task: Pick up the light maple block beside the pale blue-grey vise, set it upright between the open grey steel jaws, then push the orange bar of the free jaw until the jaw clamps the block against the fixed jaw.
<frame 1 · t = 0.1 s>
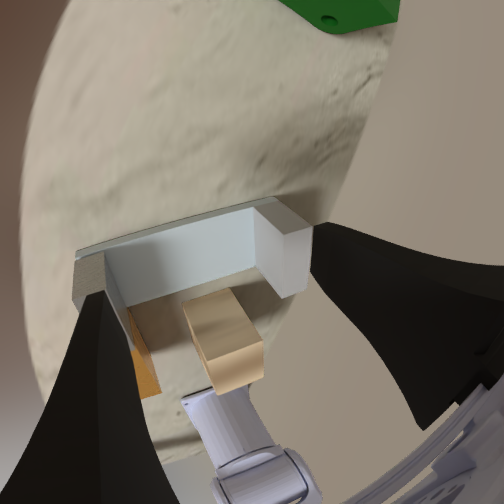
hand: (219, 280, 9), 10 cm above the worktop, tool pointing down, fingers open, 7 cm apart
vise: (183, 252, 20), on the worktop
block: (209, 316, 25), on the worktop
free jaw: (120, 335, 18), point 3 cm above the worktop, slide at 0.0 cm
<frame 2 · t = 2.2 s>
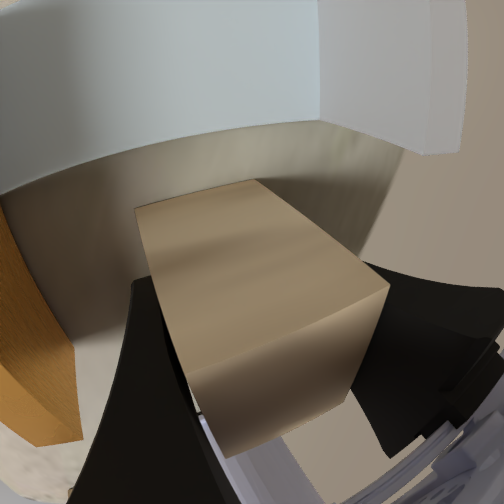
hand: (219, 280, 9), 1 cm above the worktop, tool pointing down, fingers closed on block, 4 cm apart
vise: (144, 53, 6), on the worktop
block: (205, 257, 11), on the worktop, touching gripper
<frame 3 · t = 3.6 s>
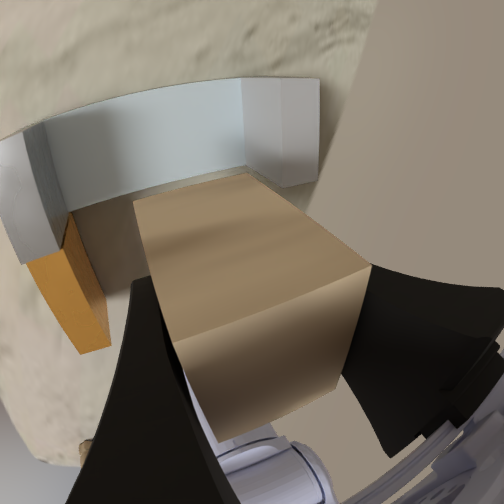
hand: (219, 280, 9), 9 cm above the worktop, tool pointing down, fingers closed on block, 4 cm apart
handle: (90, 443, 25), on the worktop
vise: (148, 136, 14), on the worktop
block: (201, 248, 11), point 7 cm above the worktop, touching gripper
free jaw: (53, 246, 12), point 3 cm above the worktop, slide at 0.0 cm
when the fingers open (3 cm above the worktop, at t = 5.2 s): block stays where it is, resting on vise.
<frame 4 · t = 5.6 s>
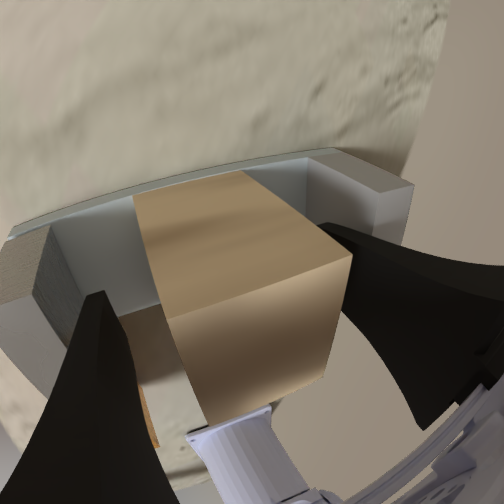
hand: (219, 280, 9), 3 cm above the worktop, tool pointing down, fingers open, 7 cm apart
vise: (191, 231, 12), on the worktop
block: (196, 241, 11), point 1 cm above the worktop, touching vise
free jaw: (88, 370, 10), point 3 cm above the worktop, slide at 0.0 cm
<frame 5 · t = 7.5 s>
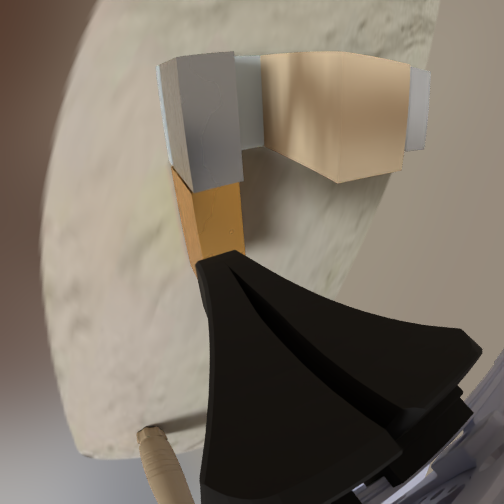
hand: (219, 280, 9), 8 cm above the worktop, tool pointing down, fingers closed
handle: (149, 430, 27), on the worktop
vise: (287, 97, 15), on the worktop
block: (295, 99, 14), point 1 cm above the worktop, touching vise
free jaw: (204, 185, 13), point 3 cm above the worktop, slide at 0.0 cm
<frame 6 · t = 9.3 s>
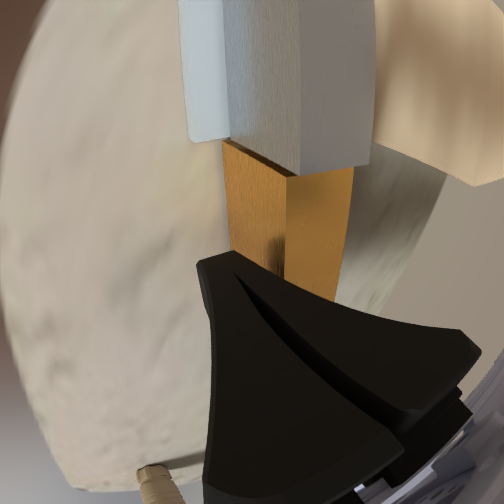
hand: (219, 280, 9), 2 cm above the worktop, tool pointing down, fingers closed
handle: (150, 467, 21), on the worktop
vise: (354, 65, 10), on the worktop
block: (368, 67, 9), point 1 cm above the worktop, touching vise
free jaw: (284, 170, 8), point 3 cm above the worktop, slide at 1.0 cm, touching gripper
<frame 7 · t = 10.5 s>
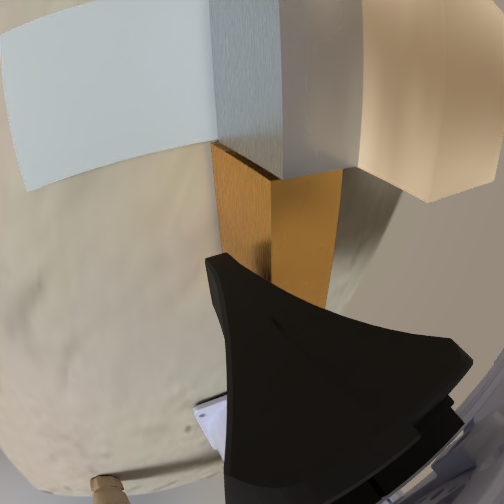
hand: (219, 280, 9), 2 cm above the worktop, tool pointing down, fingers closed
handle: (104, 477, 20), on the worktop
vise: (231, 60, 8), on the worktop
block: (321, 61, 8), point 1 cm above the worktop, touching free jaw, vise
free jaw: (272, 172, 8), point 3 cm above the worktop, slide at 6.0 cm, touching block, gripper
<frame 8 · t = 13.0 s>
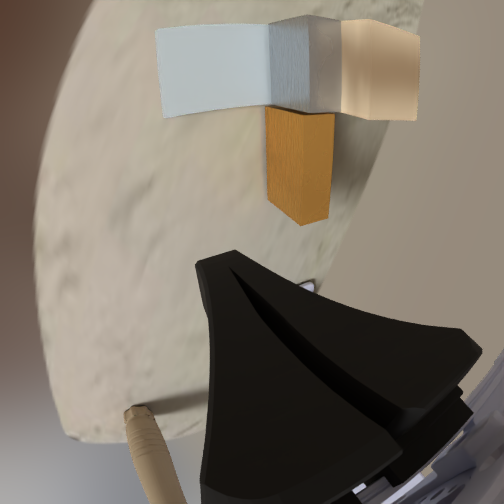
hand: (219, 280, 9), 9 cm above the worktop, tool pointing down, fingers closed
handle: (136, 410, 27), on the worktop
vise: (275, 64, 15), on the worktop
block: (323, 66, 16), point 1 cm above the worktop, touching vise
free jaw: (300, 119, 15), point 3 cm above the worktop, slide at 6.0 cm
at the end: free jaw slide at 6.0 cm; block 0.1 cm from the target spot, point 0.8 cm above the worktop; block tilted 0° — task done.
